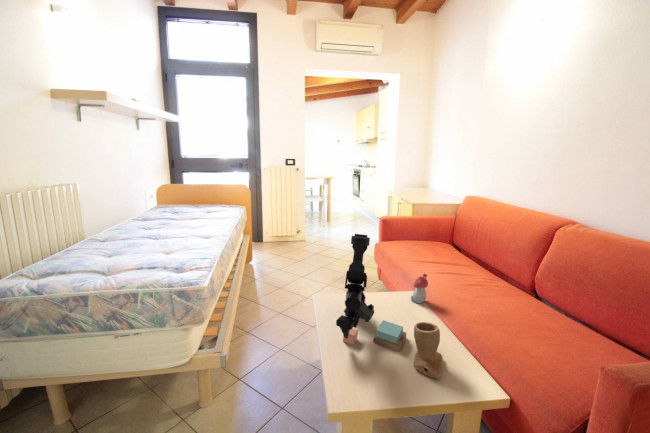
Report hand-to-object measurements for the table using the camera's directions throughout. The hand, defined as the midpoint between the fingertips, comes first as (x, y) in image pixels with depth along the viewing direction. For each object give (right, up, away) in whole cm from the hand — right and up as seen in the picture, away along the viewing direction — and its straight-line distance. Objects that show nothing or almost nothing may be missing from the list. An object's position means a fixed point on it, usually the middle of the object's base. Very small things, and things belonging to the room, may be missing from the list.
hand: (350, 332), depth 126 cm
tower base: (+17, -5, +3) cm, 18 cm away
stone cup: (+28, -8, -10) cm, 30 cm away
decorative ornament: (+40, +2, +39) cm, 56 cm away
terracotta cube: (0, -4, +1) cm, 4 cm away
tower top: (+17, -2, +2) cm, 17 cm away
